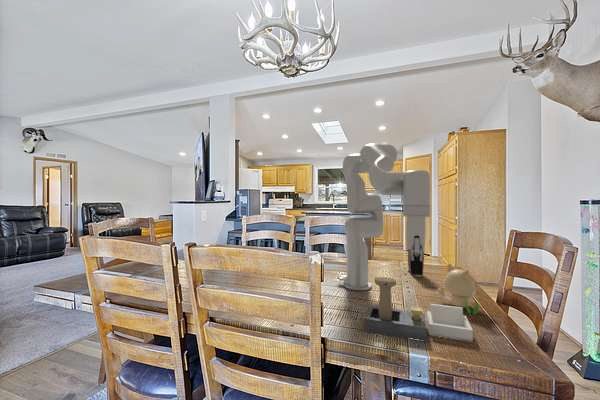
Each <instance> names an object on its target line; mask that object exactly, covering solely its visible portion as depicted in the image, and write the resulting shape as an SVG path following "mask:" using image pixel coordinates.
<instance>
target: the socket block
mask: <svg viewBox="0 0 600 400" xmlns="http://www.w3.org/2000/svg"><path fill="white" fill-rule="evenodd" d="M363 320H364V321H363V327H364V328H363V331H364V332H366V333H371V334H377V335H382V336H388V337H393V338H399V339H400V338H401V339H406V340H409V339H408V338H413V339H419V340H425V341H427V342H428V340H427V339H428V338H427V333H428V330H427V328H428V326H427V321H426V314H425V313H424V312H422V315H421V314H420V321H415V320H413V313H411V310H404V309H401V310H400V309H395V308H392V320H385V319H379V306H373V305H368V307H367V310H366V313H365V315H364V318H363Z"/></svg>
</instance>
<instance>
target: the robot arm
mask: <svg viewBox="0 0 600 400" xmlns="http://www.w3.org/2000/svg"><path fill="white" fill-rule="evenodd" d="M397 158H398V151H397V149H396V147H395V146H394V145H392V144H389V143H368V144H365V145H364V146H362V148H361V149H360V151H359V153H353V154H348V155H346V156H345V157H344V159H343V161H342V174H343V176H344V180H345V185H346V204H347V205H346V206H347V211H348V212H349V213H350V214H352V215H369V216H355V217H349V218H348V219H346V221H345V222H344V232H345V239H346V240H345V241H346V275H340V274H338V275H337V280H339V281H340V282H342V281H343V287H344V288H346V289H348V290H353V291H367V290H370V289H372V288H373V287H372V283H371V282H370V281H369V247H368V245H367V243H366V242H365V241H364V239H365V238H366V239H367V238H368V239H369V238H372V239H373V238H379V237H382V235H383V233H384V209H383V208H384V207H383V201H382V199H381V196H380V195H382V196H402V217H405V218H406V221H405V222H406V225H405V227H406V229H405V235H406V236H405V237H406V238H405V239H406V240H405V241H406V242H405V243H406V244H405V248H406V250H407V251H408V250H409V249H411V273H410V275H411V274H414V275H424V266H423V261H422V251H424V252H425V248H426V247H425V245H426V232H427V231H426V230H427V229H426V227H427V226H426V225H427V224H426V223H427V222H426V221H427V219H426V218H430V217H431V174H430V172H429V171H428V170H424V169H414V170H407V171H393V169H394V167H395V162H396V160H397ZM360 174H368V180H369V184H370V185H371V187H373V189H374V190H375V191H376V192H377V193H378V194H377V193H367V192H366V183H365V180H364V178H363V177H362V176H361V175H360ZM379 194H380V195H379Z"/></svg>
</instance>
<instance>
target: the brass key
mask: <svg viewBox="0 0 600 400" xmlns="http://www.w3.org/2000/svg"><path fill="white" fill-rule="evenodd" d="M410 311H411V313H413V320H415V321H420V314H421V315H422V313H423V309H422V307H420V306H410Z"/></svg>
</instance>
